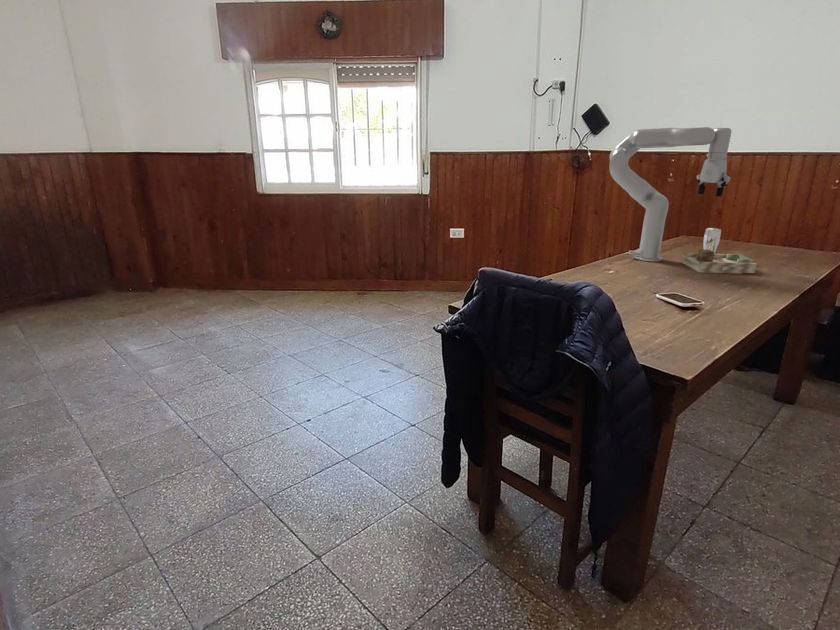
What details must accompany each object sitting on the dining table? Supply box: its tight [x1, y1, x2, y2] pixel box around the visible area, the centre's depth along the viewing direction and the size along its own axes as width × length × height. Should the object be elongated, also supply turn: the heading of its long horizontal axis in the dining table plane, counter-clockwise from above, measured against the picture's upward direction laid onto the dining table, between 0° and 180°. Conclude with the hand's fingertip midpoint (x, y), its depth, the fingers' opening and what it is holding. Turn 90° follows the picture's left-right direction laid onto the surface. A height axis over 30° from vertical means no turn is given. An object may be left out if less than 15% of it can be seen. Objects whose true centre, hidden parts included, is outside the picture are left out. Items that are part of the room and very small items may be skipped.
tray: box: [681, 252, 758, 274], centre depth 233 cm, size 24×19×6 cm
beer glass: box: [702, 227, 722, 254], centre depth 249 cm, size 7×7×15 cm
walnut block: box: [697, 248, 716, 262], centre depth 233 cm, size 5×5×5 cm
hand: (709, 195), depth 234 cm, fingers open, 9 cm apart
